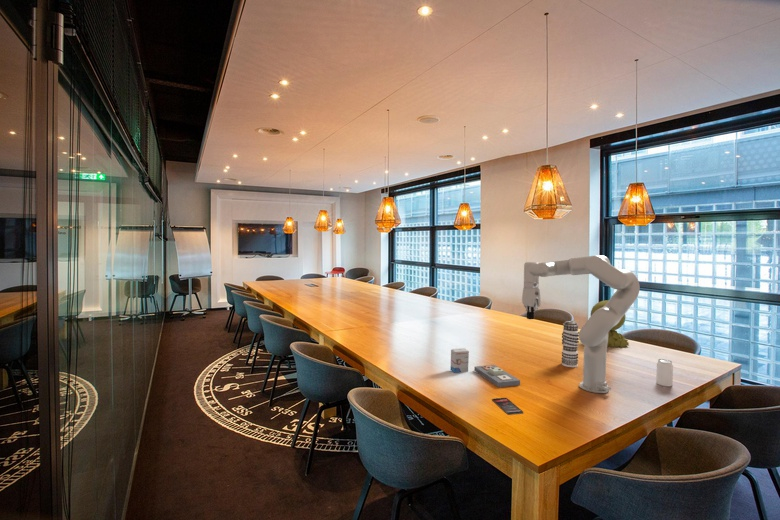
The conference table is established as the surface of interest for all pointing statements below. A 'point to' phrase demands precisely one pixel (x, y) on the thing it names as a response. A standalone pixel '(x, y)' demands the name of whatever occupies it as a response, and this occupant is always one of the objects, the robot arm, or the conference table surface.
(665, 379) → the can
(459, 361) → the ink box
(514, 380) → the console
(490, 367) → the tile three
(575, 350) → the leaning tower model
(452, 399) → the conference table surface
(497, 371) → the tile two
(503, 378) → the tile one
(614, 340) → the trophy
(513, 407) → the smartphone
